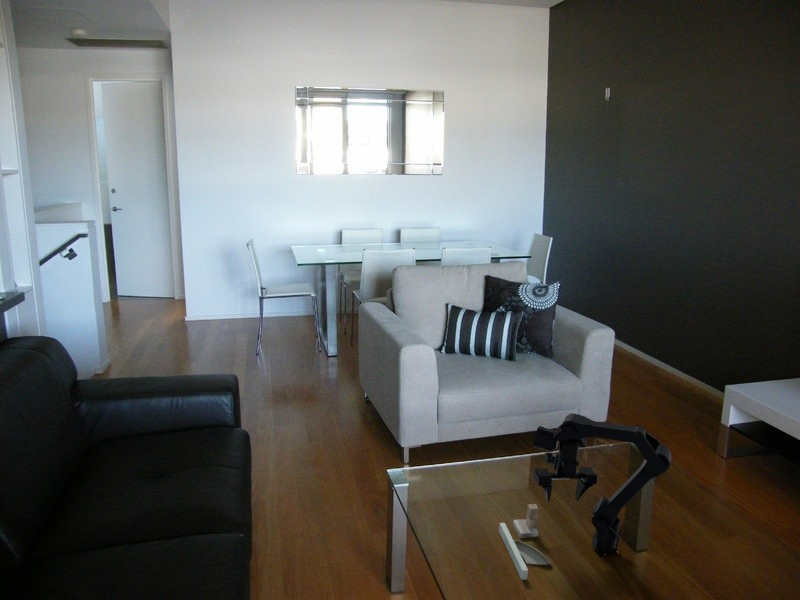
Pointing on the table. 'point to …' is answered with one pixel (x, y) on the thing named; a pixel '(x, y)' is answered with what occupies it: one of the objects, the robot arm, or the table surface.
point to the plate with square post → (528, 523)
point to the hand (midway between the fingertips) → (562, 500)
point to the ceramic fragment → (531, 554)
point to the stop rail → (513, 551)
